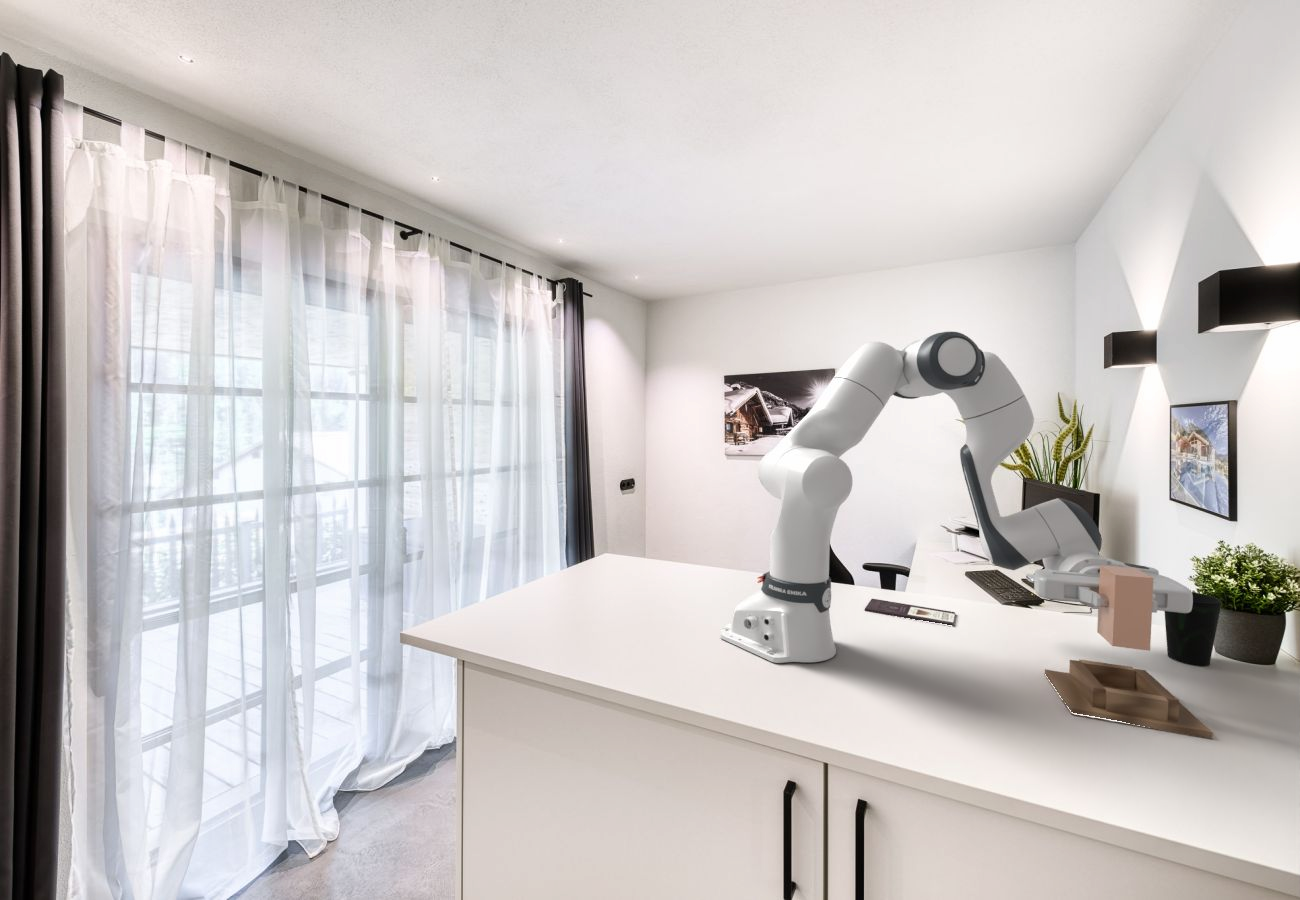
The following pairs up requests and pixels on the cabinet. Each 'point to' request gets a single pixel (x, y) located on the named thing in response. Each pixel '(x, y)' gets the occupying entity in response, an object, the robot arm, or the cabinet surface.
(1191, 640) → the cup
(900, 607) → the chocolate bar
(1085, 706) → the wooden tray with base
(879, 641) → the cabinet surface
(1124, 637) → the peach rectangular block
